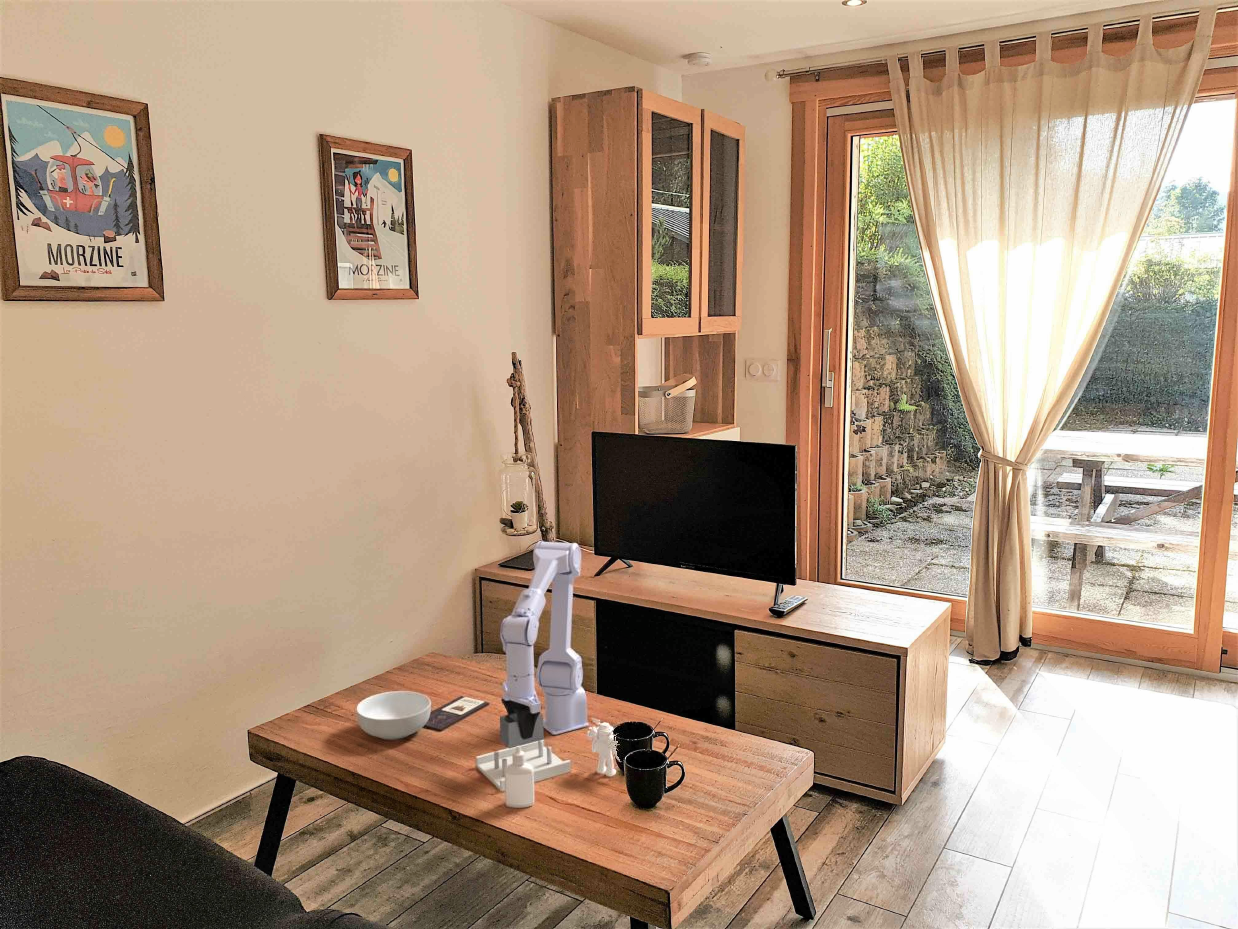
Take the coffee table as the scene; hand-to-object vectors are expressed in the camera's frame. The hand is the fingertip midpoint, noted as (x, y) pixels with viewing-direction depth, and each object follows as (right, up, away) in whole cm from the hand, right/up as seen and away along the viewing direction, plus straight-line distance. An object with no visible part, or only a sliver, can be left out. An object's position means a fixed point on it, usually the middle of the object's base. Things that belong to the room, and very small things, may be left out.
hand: (522, 733), depth 202 cm
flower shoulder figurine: (+18, -8, -1) cm, 20 cm away
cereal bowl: (-32, -6, +20) cm, 38 cm away
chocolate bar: (-20, -4, +31) cm, 37 cm away
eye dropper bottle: (+1, -10, -13) cm, 17 cm away
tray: (0, -8, +1) cm, 8 cm away
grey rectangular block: (0, -1, 0) cm, 1 cm away
